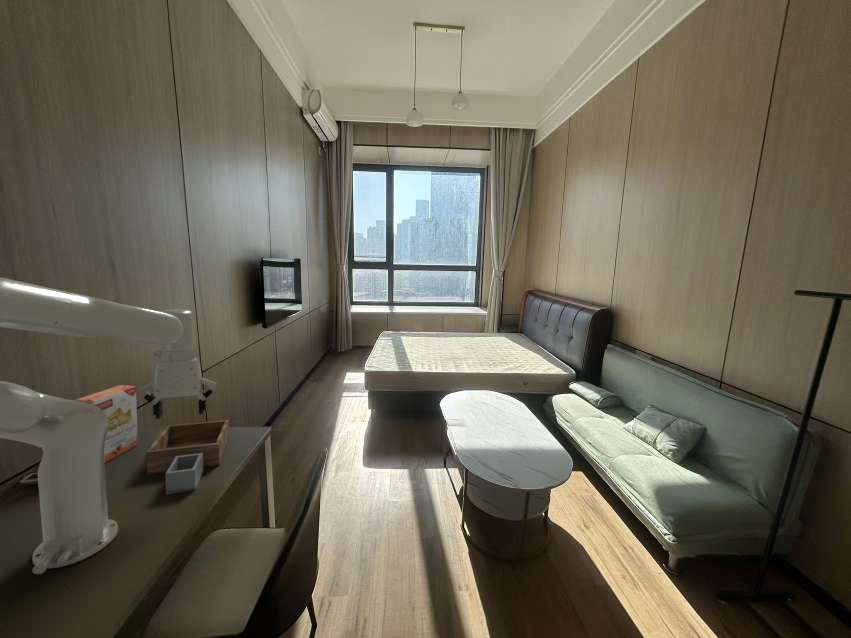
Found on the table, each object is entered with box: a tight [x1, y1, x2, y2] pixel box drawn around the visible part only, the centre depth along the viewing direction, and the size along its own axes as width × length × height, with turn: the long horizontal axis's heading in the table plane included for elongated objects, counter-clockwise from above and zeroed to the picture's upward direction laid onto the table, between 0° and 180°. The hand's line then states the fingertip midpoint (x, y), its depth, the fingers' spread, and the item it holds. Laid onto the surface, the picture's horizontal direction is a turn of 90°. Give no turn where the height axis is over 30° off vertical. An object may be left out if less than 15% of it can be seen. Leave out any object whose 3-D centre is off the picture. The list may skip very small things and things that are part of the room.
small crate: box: [164, 453, 204, 495], centre depth 93 cm, size 9×7×6 cm
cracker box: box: [74, 384, 138, 464], centre depth 102 cm, size 14×6×21 cm, turn 179°
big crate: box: [145, 419, 230, 476], centre depth 106 cm, size 18×18×7 cm
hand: (181, 414), depth 91 cm, fingers open, 9 cm apart
